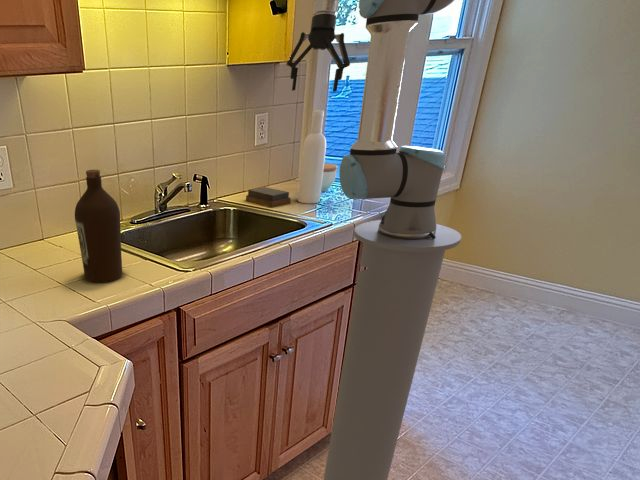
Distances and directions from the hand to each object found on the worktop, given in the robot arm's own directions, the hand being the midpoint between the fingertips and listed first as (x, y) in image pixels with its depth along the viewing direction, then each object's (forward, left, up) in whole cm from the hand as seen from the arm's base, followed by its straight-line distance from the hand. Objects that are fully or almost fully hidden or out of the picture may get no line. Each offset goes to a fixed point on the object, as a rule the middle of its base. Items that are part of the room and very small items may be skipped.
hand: (313, 90), depth 168 cm
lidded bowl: (+8, -17, -36) cm, 41 cm away
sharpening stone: (+6, +12, -36) cm, 38 cm away
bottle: (-3, 0, -36) cm, 36 cm away
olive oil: (-25, +96, -36) cm, 105 cm away
